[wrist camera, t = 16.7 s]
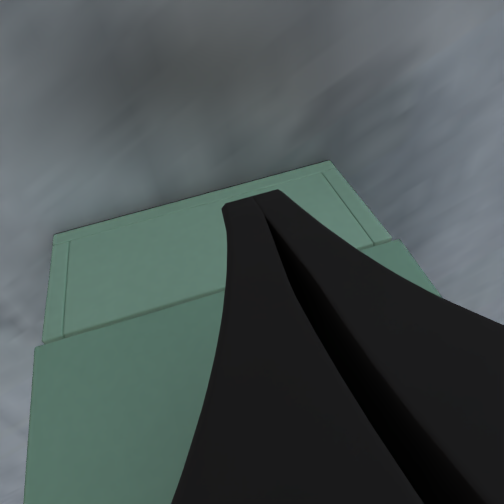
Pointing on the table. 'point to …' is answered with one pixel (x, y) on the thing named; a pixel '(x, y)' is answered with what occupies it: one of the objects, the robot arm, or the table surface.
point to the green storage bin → (179, 250)
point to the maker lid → (133, 400)
